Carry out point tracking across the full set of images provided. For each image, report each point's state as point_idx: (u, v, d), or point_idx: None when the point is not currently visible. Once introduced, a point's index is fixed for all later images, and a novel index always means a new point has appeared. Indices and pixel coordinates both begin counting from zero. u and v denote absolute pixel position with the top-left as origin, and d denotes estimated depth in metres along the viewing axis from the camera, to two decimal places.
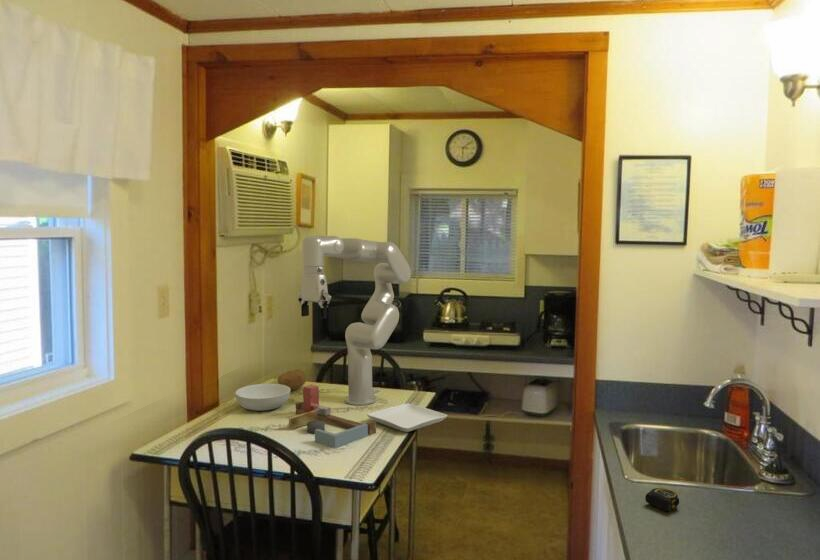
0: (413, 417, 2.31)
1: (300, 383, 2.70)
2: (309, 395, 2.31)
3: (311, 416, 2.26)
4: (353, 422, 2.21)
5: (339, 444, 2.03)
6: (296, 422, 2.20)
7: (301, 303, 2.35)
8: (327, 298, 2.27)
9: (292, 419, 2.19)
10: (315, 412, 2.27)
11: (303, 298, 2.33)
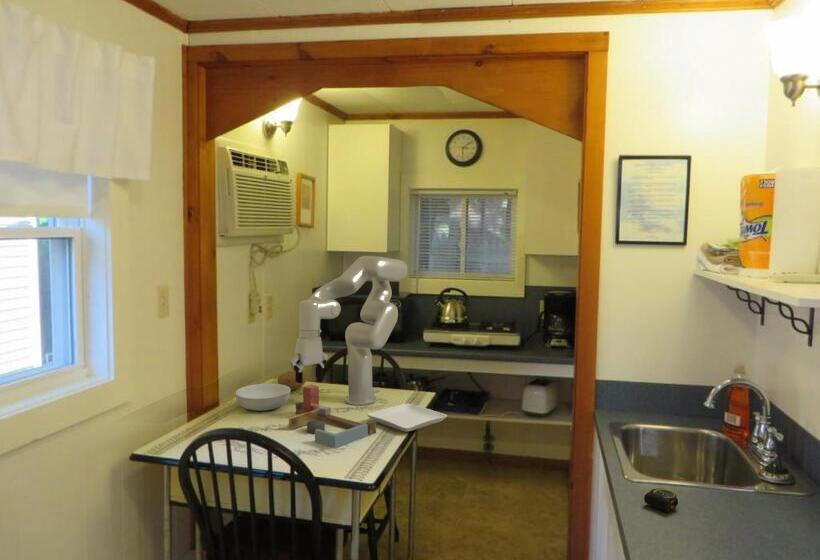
0: (413, 417, 2.31)
1: (300, 383, 2.70)
2: (309, 395, 2.31)
3: (311, 416, 2.26)
4: (353, 422, 2.21)
5: (339, 444, 2.03)
6: (296, 422, 2.20)
7: (300, 370, 2.28)
8: (326, 357, 2.38)
9: (292, 419, 2.19)
10: (315, 412, 2.27)
11: (306, 363, 2.28)
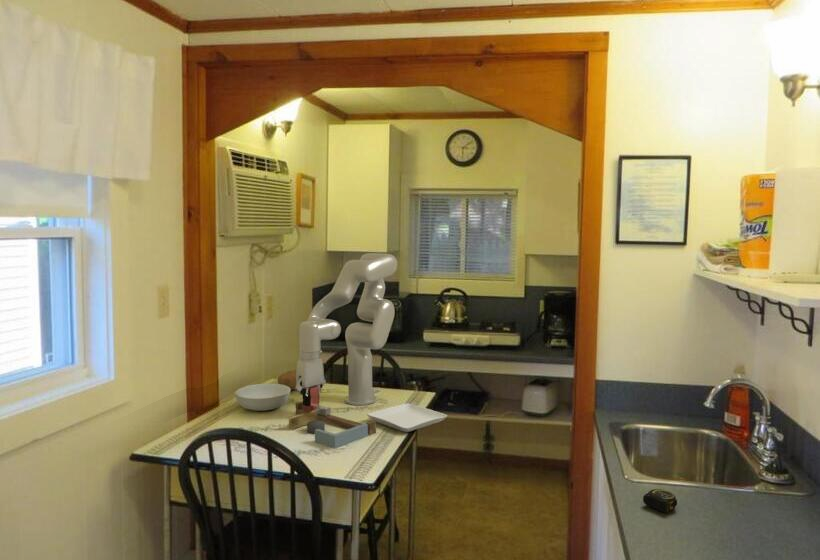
0: (413, 417, 2.31)
1: None
2: (309, 395, 2.31)
3: (311, 416, 2.26)
4: (353, 422, 2.21)
5: (339, 444, 2.03)
6: (296, 422, 2.20)
7: (307, 393, 2.31)
8: (324, 382, 2.38)
9: (292, 419, 2.19)
10: (315, 412, 2.27)
11: (307, 385, 2.30)
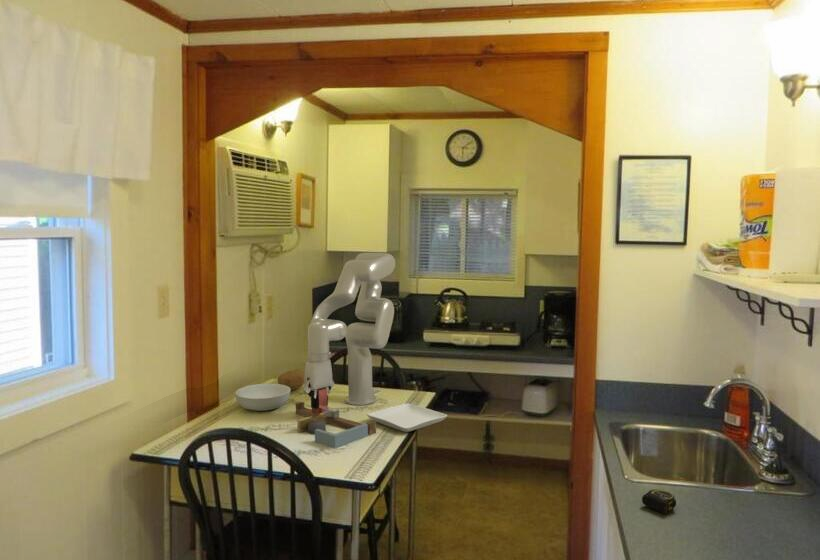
0: (413, 417, 2.31)
1: (300, 383, 2.70)
2: (317, 397, 2.28)
3: (320, 419, 2.23)
4: (353, 422, 2.21)
5: (339, 444, 2.03)
6: (305, 425, 2.18)
7: (315, 395, 2.28)
8: (332, 384, 2.35)
9: (301, 422, 2.16)
10: (324, 414, 2.24)
11: (316, 387, 2.27)
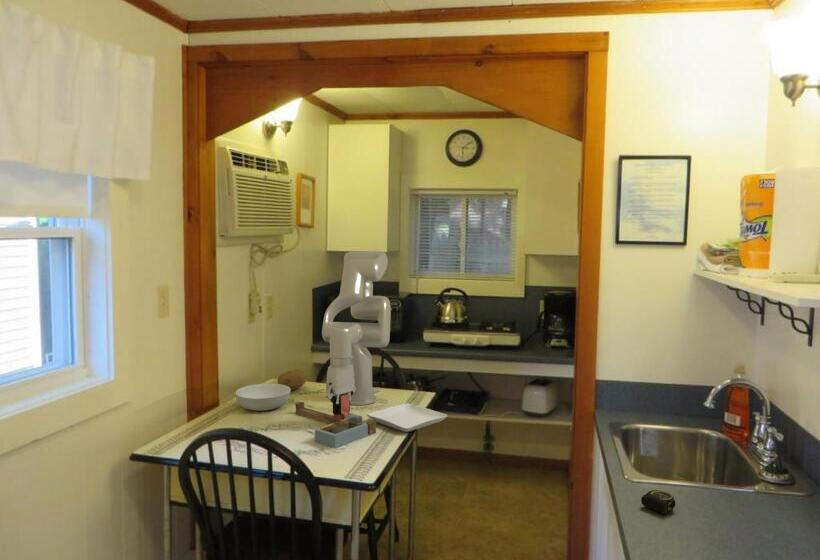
0: (413, 417, 2.31)
1: (300, 383, 2.70)
2: (340, 403, 2.21)
3: (342, 425, 2.16)
4: None
5: (339, 444, 2.03)
6: None
7: (337, 401, 2.20)
8: (354, 389, 2.28)
9: (324, 429, 2.09)
10: (346, 421, 2.17)
11: (338, 393, 2.19)
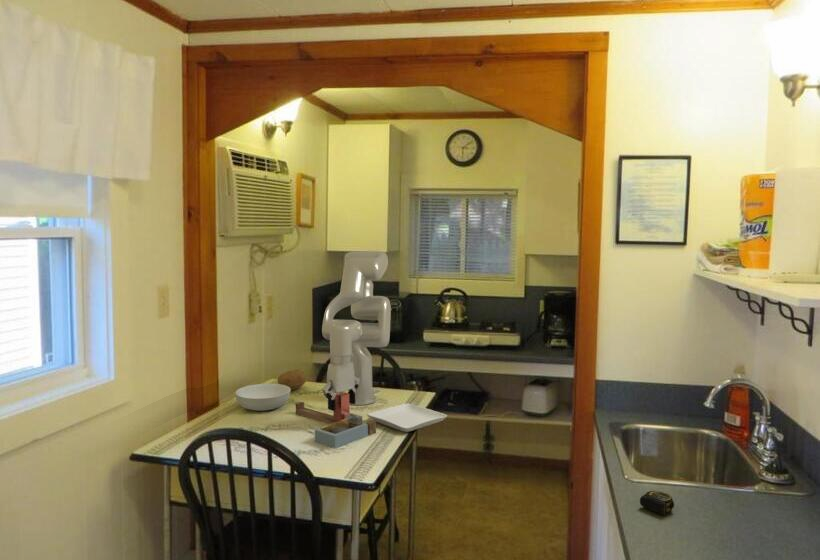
0: (413, 417, 2.31)
1: (300, 383, 2.70)
2: (340, 403, 2.21)
3: (342, 425, 2.16)
4: None
5: (339, 444, 2.03)
6: None
7: (333, 397, 2.19)
8: (358, 381, 2.29)
9: (324, 429, 2.09)
10: (346, 421, 2.17)
11: (338, 390, 2.20)
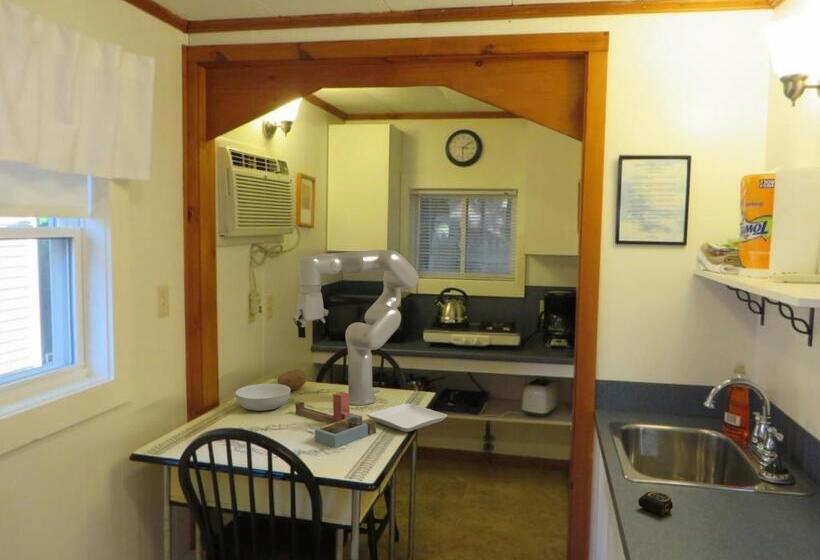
0: (413, 417, 2.31)
1: (300, 383, 2.70)
2: (340, 403, 2.21)
3: (342, 425, 2.16)
4: None
5: (339, 444, 2.03)
6: None
7: (303, 325, 2.31)
8: (327, 312, 2.42)
9: (324, 429, 2.09)
10: (346, 421, 2.17)
11: (308, 318, 2.32)
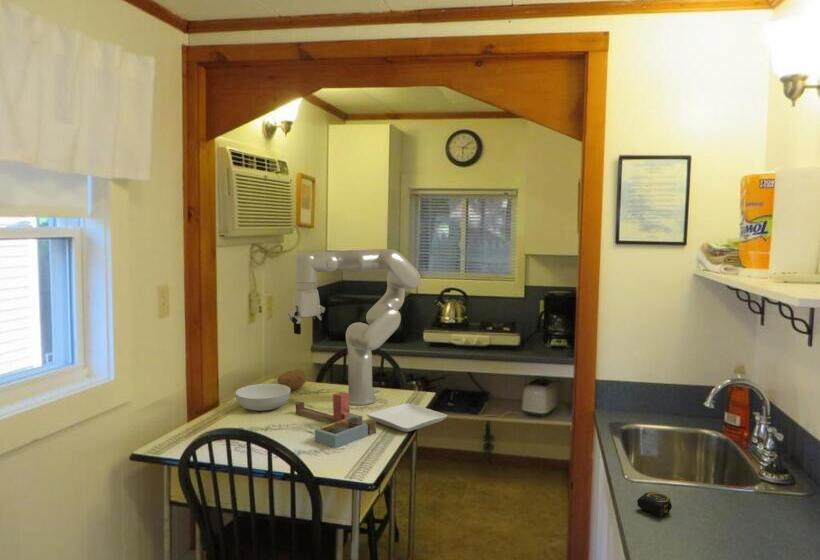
0: (413, 417, 2.31)
1: (300, 383, 2.70)
2: (340, 403, 2.21)
3: (342, 425, 2.16)
4: None
5: (339, 444, 2.03)
6: None
7: (298, 321, 2.33)
8: (323, 309, 2.44)
9: (324, 429, 2.09)
10: (346, 421, 2.17)
11: (303, 315, 2.34)
